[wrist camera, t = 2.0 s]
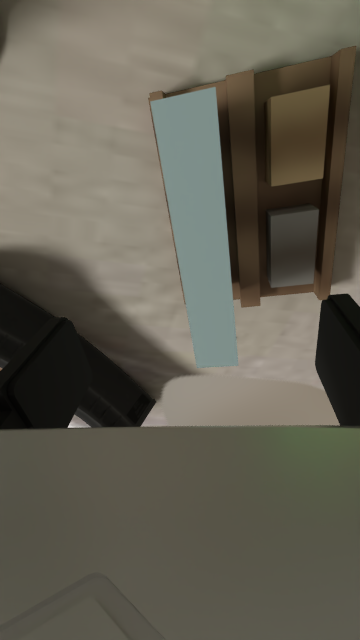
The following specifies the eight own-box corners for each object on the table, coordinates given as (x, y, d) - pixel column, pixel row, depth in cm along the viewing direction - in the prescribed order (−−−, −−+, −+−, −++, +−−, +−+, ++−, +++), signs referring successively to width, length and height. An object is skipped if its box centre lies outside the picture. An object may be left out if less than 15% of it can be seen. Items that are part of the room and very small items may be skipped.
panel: (181, 120, 25) (150, 101, 13) (215, 112, 25) (215, 86, 13) (203, 287, 33) (197, 367, 21) (230, 284, 33) (238, 365, 21)
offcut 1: (264, 102, 24) (271, 97, 21) (315, 91, 23) (330, 84, 20) (265, 181, 27) (271, 186, 24) (311, 174, 26) (323, 178, 23)
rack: (150, 99, 26) (143, 94, 23) (347, 54, 23) (364, 43, 20) (185, 300, 36) (183, 312, 33) (325, 286, 33) (334, 298, 30)
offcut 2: (265, 209, 28) (270, 216, 26) (309, 203, 28) (318, 209, 25) (266, 276, 32) (271, 287, 29) (305, 271, 31) (313, 283, 29)
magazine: (160, 456, 38) (-139, 372, 22) (144, 465, 39) (-148, 392, 23) (155, 354, 50) (-39, 253, 34) (142, 364, 52) (-49, 270, 35)
